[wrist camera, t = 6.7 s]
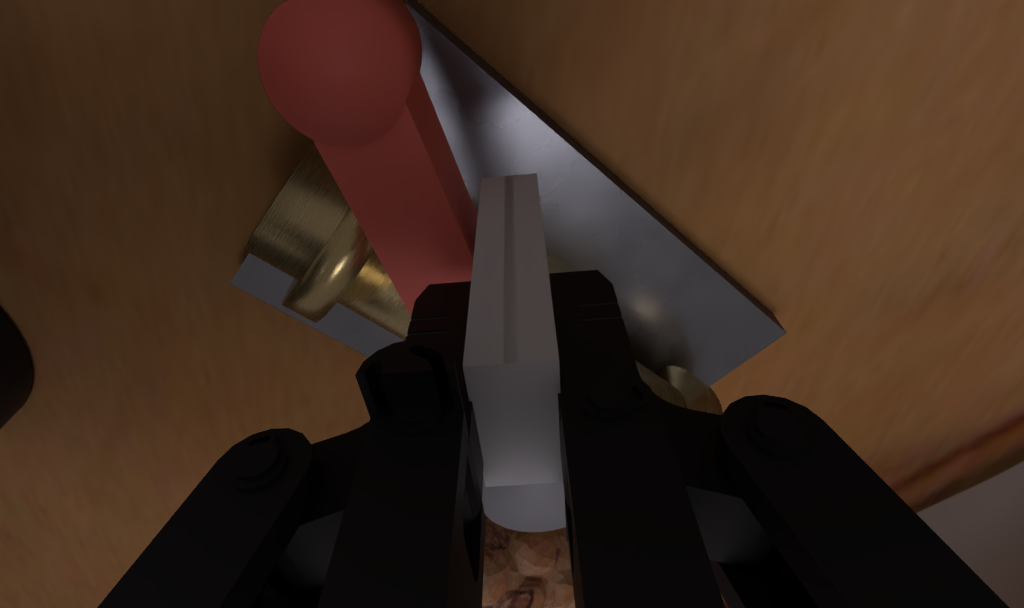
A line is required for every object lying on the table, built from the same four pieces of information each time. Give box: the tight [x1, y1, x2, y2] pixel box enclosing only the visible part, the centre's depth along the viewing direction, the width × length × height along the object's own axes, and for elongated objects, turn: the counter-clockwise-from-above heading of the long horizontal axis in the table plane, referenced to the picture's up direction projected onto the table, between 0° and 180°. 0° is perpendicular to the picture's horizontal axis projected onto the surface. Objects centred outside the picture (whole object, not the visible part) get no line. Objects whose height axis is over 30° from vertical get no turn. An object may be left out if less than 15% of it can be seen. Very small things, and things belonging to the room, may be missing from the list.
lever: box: [258, 0, 566, 532], centre depth 14 cm, size 4×16×4 cm, turn 18°
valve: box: [230, 0, 786, 415], centre depth 23 cm, size 22×14×8 cm, turn 50°
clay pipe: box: [482, 515, 575, 608], centre depth 33 cm, size 19×11×15 cm
